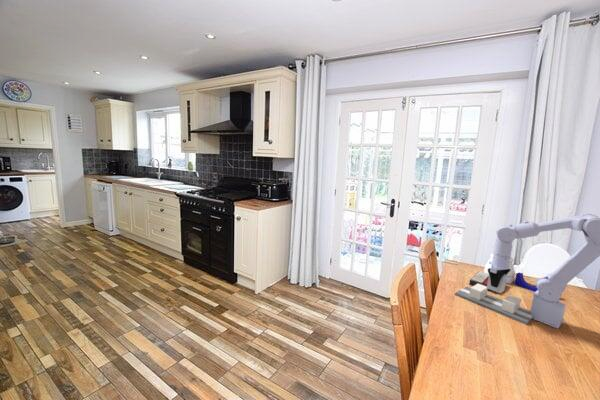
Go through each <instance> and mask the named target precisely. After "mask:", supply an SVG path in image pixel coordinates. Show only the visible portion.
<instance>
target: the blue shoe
mask: <svg viewBox="0 0 600 400" xmlns="http://www.w3.org/2000/svg"><path fill="white" fill-rule="evenodd" d="M515 273H516V274H515V278H514V285H516V286H518V287H521V288H524V289H526V290H528V291H529V290H530V291H531V292H536V291H537V290H538V289H537V287H536V285H534V284H533V285H531V284H529V283H528V282H527V281H526V280H525V277H524V273H523V272H515Z"/></svg>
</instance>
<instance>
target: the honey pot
mask: <svg viewBox="0 0 600 400" xmlns="http://www.w3.org/2000/svg"><path fill="white" fill-rule="evenodd" d="M489 256H490V258H489V259H488V261H487V262H486V264H485V266H484V269H483V272H485V273H488V269H489V268H491V264H489V261H492V259H493V253H491V254H490V255H489ZM511 256H512V255H511ZM511 256H510V262H509V269H510V272H509V273H508V274H507V278H506V284H512V283H514V281H515V276H516V274H515V273H516V271H515V268H514V263H513V262H514V261H515V259H514V258H513V257H511ZM488 274H489V273H488Z"/></svg>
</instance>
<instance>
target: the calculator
mask: <svg viewBox="0 0 600 400" xmlns="http://www.w3.org/2000/svg"><path fill="white" fill-rule="evenodd" d="M488 278H489V274H488V273H485V272H484V271H482V270H479V271H478V272H477V273H475V274H474V276H472V277H471V278H470V279H469V284H468V285H469V286H471V287H473V286H474V285H476V284H481V285H484V286H486V287H487V283H488ZM487 292H489V293H492V294H497V292H496V291H493V290H490V289H487Z"/></svg>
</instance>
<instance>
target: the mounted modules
mask: <svg viewBox="0 0 600 400" xmlns="http://www.w3.org/2000/svg"><path fill="white" fill-rule="evenodd" d="M487 294H488V291H487V287H486V286H484V285H481V284H476V285H474V286H471V287H470V294H469V296H470V297H472V298H475V299H477V300H480V299H482V298H483V297H485V296H486V295H487ZM502 300H503V302H502V307H501V309H502V310H505V311H507V312H510V313H512V314H514V313H515V312H516V311H517V310H518V309H519V308H520V307H521V301H522V298H519V297H517V296H514V295H511V294H509V295H507V296H506V297H505V298H503V299H502Z"/></svg>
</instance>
